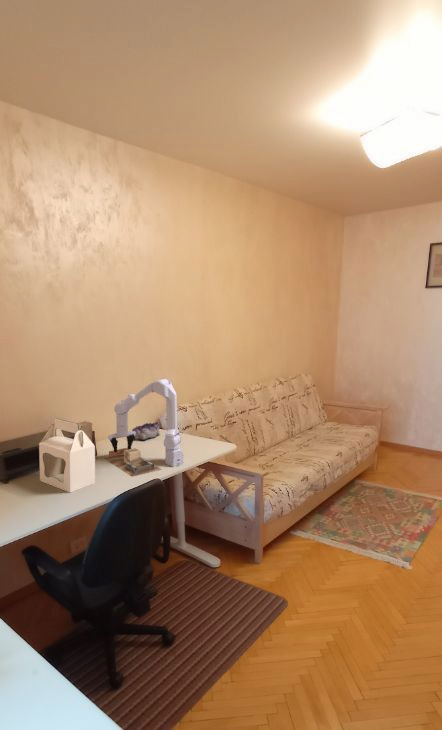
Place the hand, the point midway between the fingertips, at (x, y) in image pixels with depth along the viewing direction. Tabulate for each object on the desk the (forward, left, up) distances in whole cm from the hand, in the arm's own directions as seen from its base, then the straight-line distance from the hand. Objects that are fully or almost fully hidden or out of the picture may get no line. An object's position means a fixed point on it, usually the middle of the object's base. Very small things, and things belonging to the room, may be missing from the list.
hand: (122, 450), depth 217 cm
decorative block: (+8, +19, -5) cm, 21 cm away
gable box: (-14, +33, -5) cm, 36 cm away
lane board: (-11, 0, -5) cm, 12 cm away
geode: (+30, -30, -5) cm, 43 cm away
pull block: (-4, -1, -4) cm, 6 cm away
